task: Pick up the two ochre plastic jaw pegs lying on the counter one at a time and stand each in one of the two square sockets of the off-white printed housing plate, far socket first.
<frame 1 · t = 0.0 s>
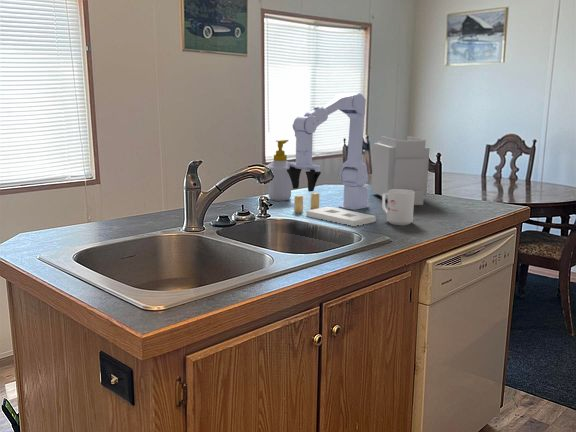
hand: (303, 189, 195), 10 cm above the table, fingers open, 7 cm apart
peg b: (298, 211, 207), on the table
mug: (395, 222, 193), on the table
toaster: (398, 199, 238), on the table
soap bottle: (279, 199, 231), on the table
peg a: (314, 208, 213), on the table
housing: (340, 218, 196), on the table
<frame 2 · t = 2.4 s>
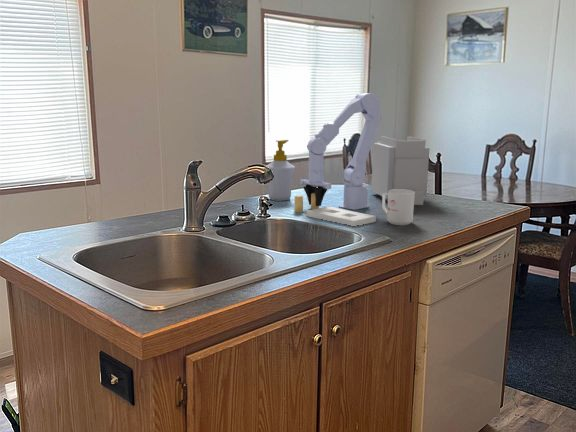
hand: (315, 205, 213), 1 cm above the table, fingers closed on peg a, 3 cm apart
peg a: (314, 208, 213), on the table, touching gripper
everything else where it was.
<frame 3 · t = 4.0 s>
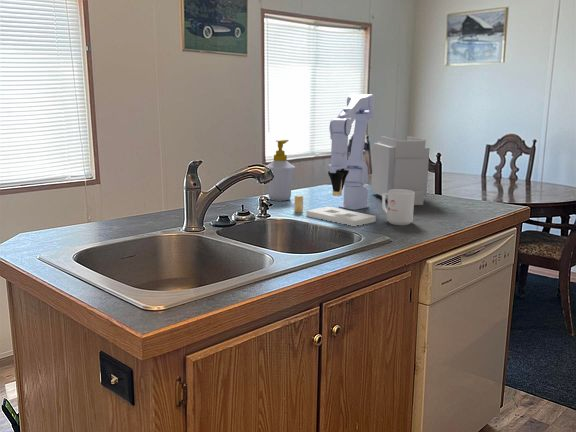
hand: (337, 190, 198), 10 cm above the table, fingers closed on peg a, 3 cm apart
peg a: (337, 195, 198), point 8 cm above the table, touching gripper
everything else where it was.
when the fingers open (3 cm above the table, at t = 6.0 s): peg a drops 1 cm, resting in housing.
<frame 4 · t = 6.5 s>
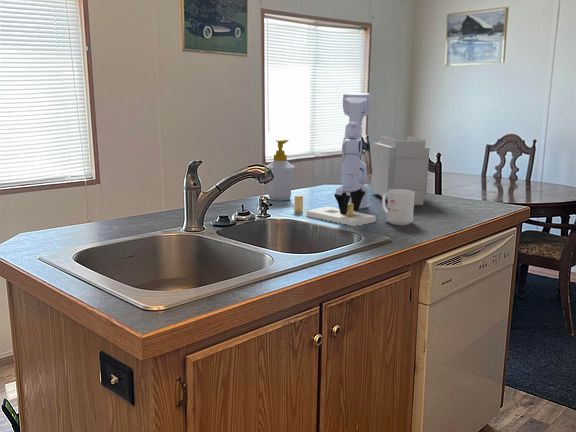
hand: (349, 212, 193), 3 cm above the table, fingers open, 7 cm apart
peg a: (348, 220, 194), resting in housing
everything else where it was.
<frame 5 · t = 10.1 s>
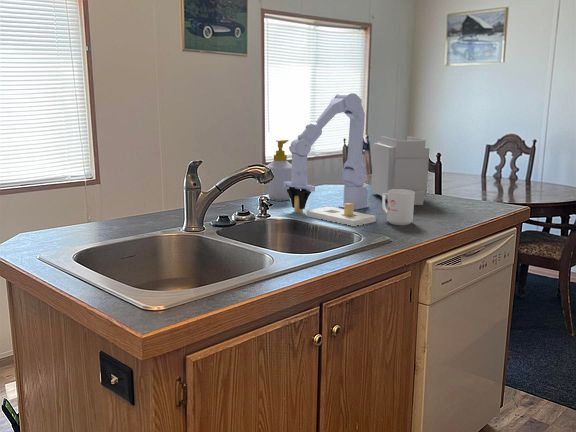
hand: (298, 208, 207), 1 cm above the table, fingers closed on peg b, 3 cm apart
peg b: (298, 211, 207), on the table, touching gripper
everything else where it was.
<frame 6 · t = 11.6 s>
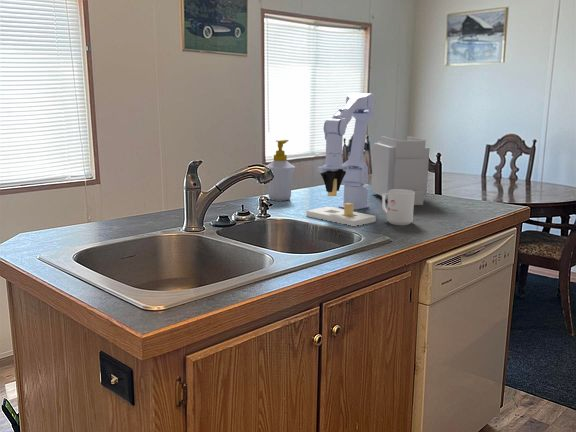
hand: (332, 191, 197), 9 cm above the table, fingers closed on peg b, 3 cm apart
peg b: (332, 195, 198), point 8 cm above the table, touching gripper
everything else where it was.
when the fingers open (3 cm above the table, at t = 13.1 s): peg b drops 1 cm, resting in housing.
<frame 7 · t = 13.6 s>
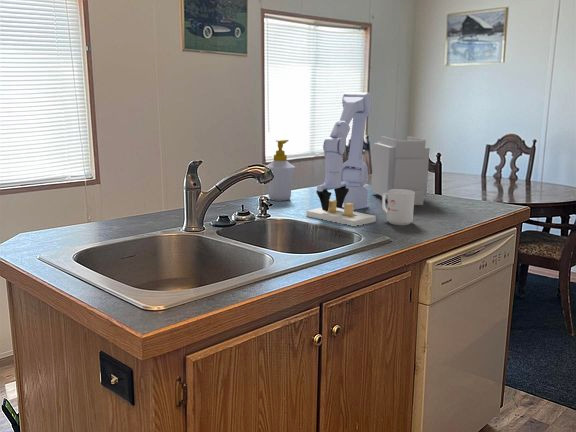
hand: (332, 209, 199), 3 cm above the table, fingers open, 7 cm apart
peg b: (331, 216, 199), resting in housing
everything else where it was.
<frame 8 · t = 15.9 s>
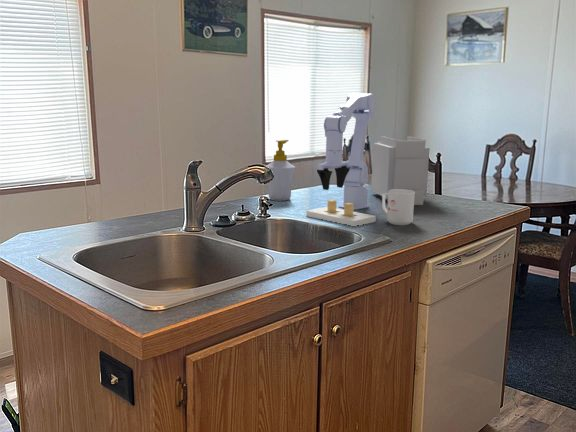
hand: (332, 188, 197), 10 cm above the table, fingers open, 7 cm apart
nothing on the table moved.
at the end: peg a 0.3 cm from the target spot on the housing, point 0.0 cm above the housing's base; peg b 0.2 cm from the target spot on the housing, point 0.0 cm above the housing's base; peg b tilted 0° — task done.
